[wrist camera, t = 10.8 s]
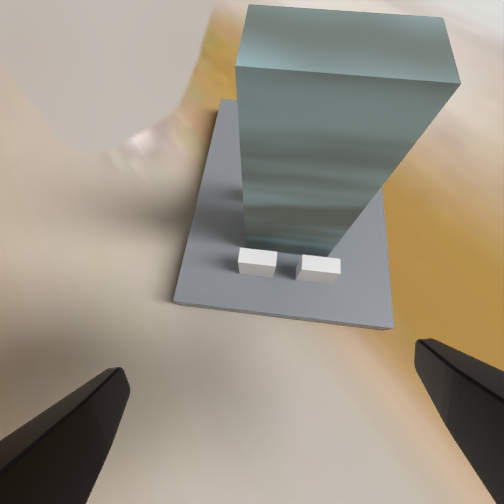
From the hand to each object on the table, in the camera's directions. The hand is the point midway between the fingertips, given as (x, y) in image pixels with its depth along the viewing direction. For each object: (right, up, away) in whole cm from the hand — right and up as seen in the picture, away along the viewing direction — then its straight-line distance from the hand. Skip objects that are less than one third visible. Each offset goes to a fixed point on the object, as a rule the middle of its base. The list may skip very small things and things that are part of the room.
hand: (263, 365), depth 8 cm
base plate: (+3, +8, +15) cm, 17 cm away
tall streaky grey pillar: (+2, +5, +12) cm, 13 cm away
